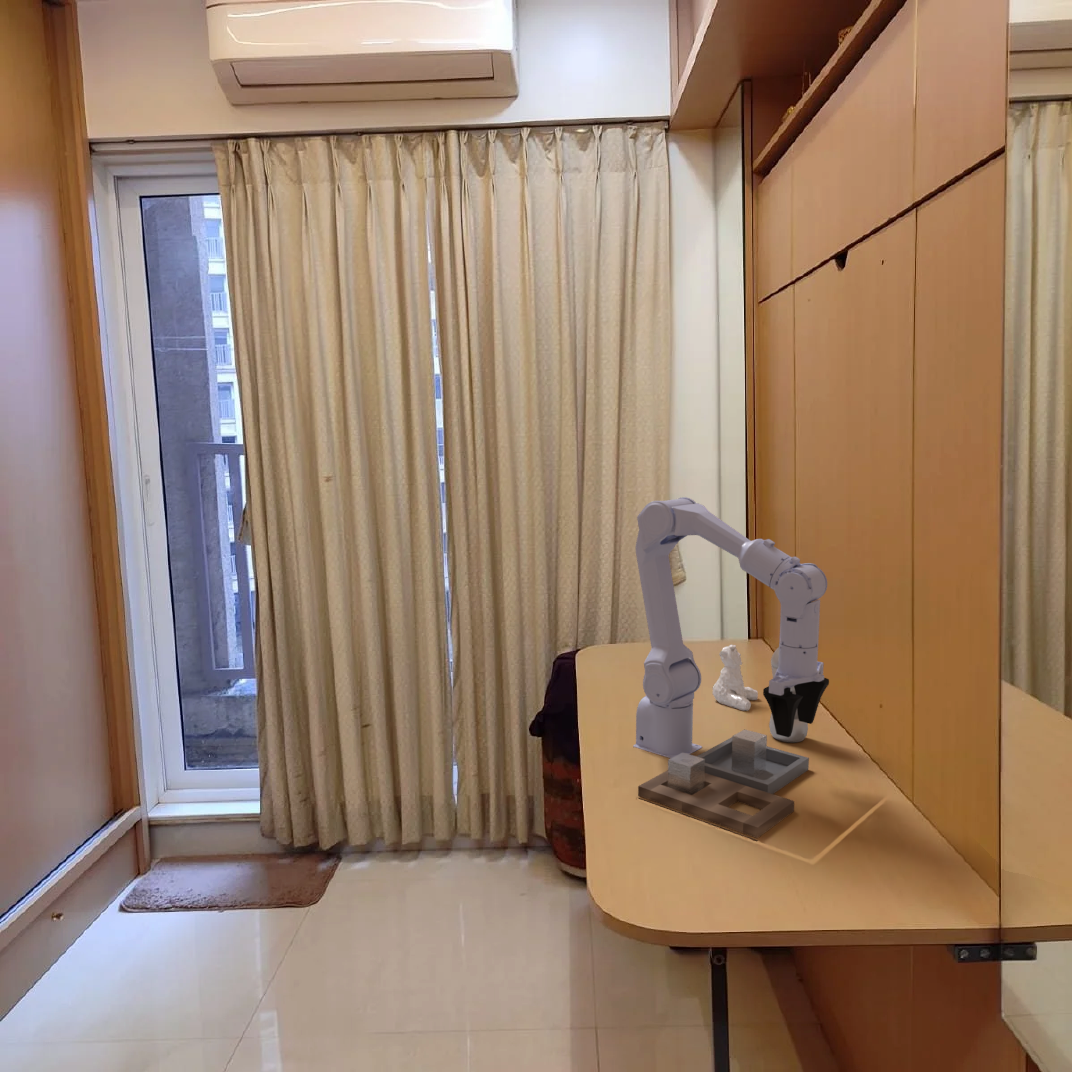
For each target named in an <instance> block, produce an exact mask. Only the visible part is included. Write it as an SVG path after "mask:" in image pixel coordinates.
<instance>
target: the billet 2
mask: <svg viewBox="0 0 1072 1072" xmlns="http://www.w3.org/2000/svg"><path fill="white" fill-rule="evenodd" d="M731 737H732V771H734V772H737V773H741V774H744V775H747V776H750V777H754V778H755V777H756V776H758V775H759V774H761V773H763V772H764V771H766V747H767V744H768V743H767V742H768V739H767V738H768V735H767V734H764V733H760V732H757V731H753V730H748V729H743V730H740V731H739V732H737V733H735V734H734V735H732V736H731Z"/></svg>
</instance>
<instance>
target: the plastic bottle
mask: <svg viewBox="0 0 1072 1072" xmlns="http://www.w3.org/2000/svg"><path fill="white" fill-rule="evenodd" d="M770 664H771V665H770V666H771V673H772V678H773V677H774V675H775V673H776V670H777V669H778V664H779V646H778V647H777V648H776V649H775V651H774V652H773V653H772V655H771V659H770ZM791 691H792V694H796V692H795V688H794V686H793V687H791V689H790V692H791ZM768 724H769V726H768V727H769V732H770V734H771V736H772V737H773V738H774V739H775V740H776V741H779V742H782V743H799V742H802V741H804V740H805V738H806V737H807V735H808V731H809V725H808V724H809V723H805V722H801V721H799V719H798V713H797V710H796V714H795V718H794V725H793V730H792V734H791V736H790V737H785V736H781V735H778V734H776V730H775V725H774V720H773V716H772V712H771V713H770V719H769V723H768Z"/></svg>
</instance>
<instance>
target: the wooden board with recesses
mask: <svg viewBox="0 0 1072 1072" xmlns="http://www.w3.org/2000/svg"><path fill="white" fill-rule="evenodd" d="M637 788H638V791H637V793H638V795H637V796H638V797H637V799H638V800H641V801H644V802H647V803H649V804H653V805H655V806H659V807H661V808H664V809H666V810H669V811H672V812H674V813H678V814H680V815H683V816H686V817H689V818H691V819H693V820H697V821H699V822H703V823H706V824H708V825H710V826H714V827H717V828H719V829H722V830H725V831H727V832H730V833H733V834H736V835H739V836H741V837H744V838H747V839H749V840H752V841H755V842H759V840H757V839H759V838H760V837H761V836H762V835H764V834H765V833H766V832H768V831H769V830H770V829H772V828H773V827H775V826H776V825H777V824H779V823H780V822H781V821H782V820H784V819H785V818H786V817H787V818H788V817H789V816H790V815H791V814H792V813H793V812H794V811H795V800H793V799H789V798H786V797H783V796H779V795H777V794H775V793H774V794H770V793H767V792H764V791H761V790H758V789H755V788H751V787H748V786H745V785H742V784H739V783H735V782H732V781H729V780H726V779H723V778H720V777H716V776H713V775H710V774H707V773H705V777H704V788H703V789H701V790H700V791H698V792H696V793H695V794H693V795H690V794H687V793H684V792H681V791H678V790H675V789H672V788H669V787H668V769H667V770H665V771H663V772H662V773H660V774H658V775H656V776H654V777H652V778H651V779H648V780H647V781H645V782H643V783H641V784H639V785H638V787H637ZM646 799H647V800H646ZM649 800H650V801H649ZM651 801H652V802H651ZM737 802H738V803H741V804H744V805H746V806H749V807H753V808H756V809H759V811H757V812H756V813H754V814H753V815H751V814H748V813H746V812H742V811H740V810H737V809H735V808H730V807H731V806H733V804H735V803H737ZM660 804H661V805H660ZM663 805H664V806H663ZM665 806H666V807H665ZM677 810H678V811H677ZM680 811H681V812H680ZM682 812H683V813H682ZM691 815H692V816H691ZM710 822H711V823H710ZM716 824H717V825H716ZM719 825H720V826H719ZM722 826H723V827H722ZM724 827H725V828H724ZM730 829H731V830H730ZM736 831H737V832H736ZM749 836H750V837H749ZM753 837H754V838H753ZM755 838H756V839H755Z"/></svg>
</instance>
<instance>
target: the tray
mask: <svg viewBox="0 0 1072 1072" xmlns="http://www.w3.org/2000/svg"><path fill="white" fill-rule="evenodd" d="M696 756H697V757H700V758H703V759H705V773H707V774H710V775H713V776H716V777H720V778H723V779H726V780H729V781H732V782H735V783H739V784H742V785H745V786H748V787H751V788H755V789H758V790H761V791H764V792H767V793H770V794H774V795H775V794H776V793H777V792H778V791H780V790H781V789H782V788H784V787H785V786H787V785H788V784H789V783H791V782H793V781H794V780H795V779H796V780H797V778H799V777H801V775H803V774H804V773H806V772H808V771H809V768H810V767H809V762H810V761H809V760H810V758H809V757H807V756H804V755H801V754H800V755H799V754H797V753H793V752H789V751H785V750H782V749H779V748H775V747H771V746H767V747H766V771H764V772H763V773H761V774H759V775H758V776H756V777H755V778H754V777H750V776H747V775H744V774H741V773H737V772H734V771H732V736H731V737H730V738H728V739H726V740H723V741H722V742H720V743H718V744H717V745H715V746H713V747H710V748H709V749H707V750H706V751H703V752H702V753H700V754H697V755H696Z"/></svg>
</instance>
